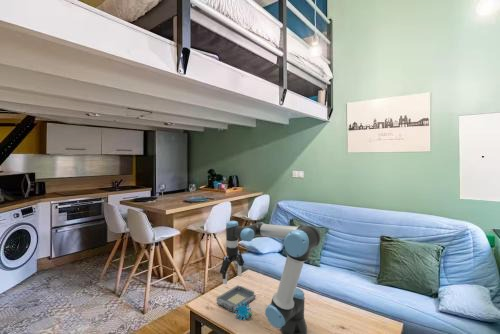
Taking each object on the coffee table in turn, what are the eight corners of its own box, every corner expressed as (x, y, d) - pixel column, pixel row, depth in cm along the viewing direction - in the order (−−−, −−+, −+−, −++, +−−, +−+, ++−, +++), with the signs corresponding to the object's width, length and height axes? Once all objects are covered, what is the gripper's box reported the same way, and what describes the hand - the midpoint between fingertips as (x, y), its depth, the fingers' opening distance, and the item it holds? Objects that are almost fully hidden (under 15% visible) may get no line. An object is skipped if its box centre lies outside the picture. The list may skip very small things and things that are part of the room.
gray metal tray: (256, 298, 175) (256, 292, 175) (234, 314, 157) (234, 307, 157) (238, 290, 185) (238, 284, 185) (215, 303, 167) (215, 298, 167)
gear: (232, 316, 152) (238, 299, 158) (234, 318, 156) (240, 302, 162) (248, 323, 148) (254, 305, 154) (250, 325, 152) (256, 308, 158)
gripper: (240, 239, 169) (240, 271, 169) (213, 250, 149) (213, 285, 150) (249, 242, 164) (249, 274, 165) (222, 253, 145) (222, 289, 145)
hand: (232, 279), depth 157 cm, fingers open, 13 cm apart
